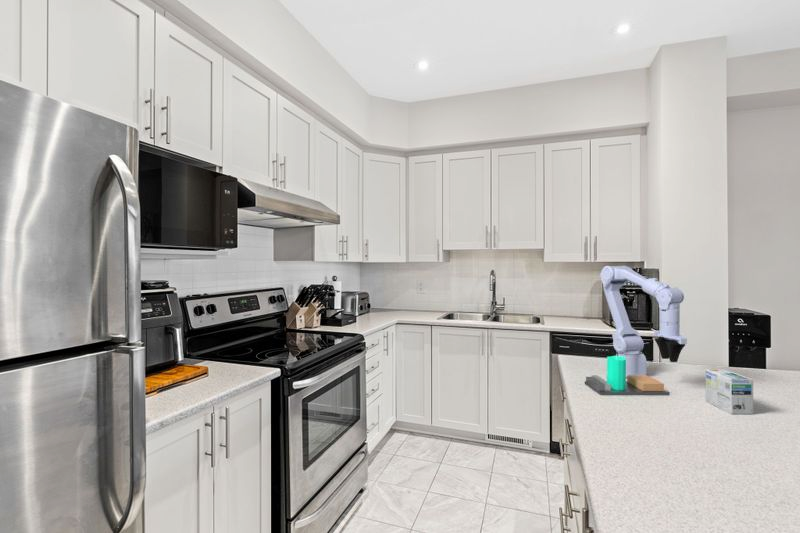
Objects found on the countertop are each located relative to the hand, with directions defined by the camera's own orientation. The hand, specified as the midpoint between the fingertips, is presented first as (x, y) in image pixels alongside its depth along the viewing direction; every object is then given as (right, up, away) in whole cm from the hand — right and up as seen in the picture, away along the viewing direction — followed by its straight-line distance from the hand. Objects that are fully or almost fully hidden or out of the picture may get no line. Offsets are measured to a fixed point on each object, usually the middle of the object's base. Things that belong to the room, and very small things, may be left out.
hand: (669, 360), depth 139 cm
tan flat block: (-8, -9, 0) cm, 13 cm away
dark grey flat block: (-15, -10, +1) cm, 19 cm away
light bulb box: (+7, -11, -17) cm, 21 cm away
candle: (-19, -10, 0) cm, 21 cm away
